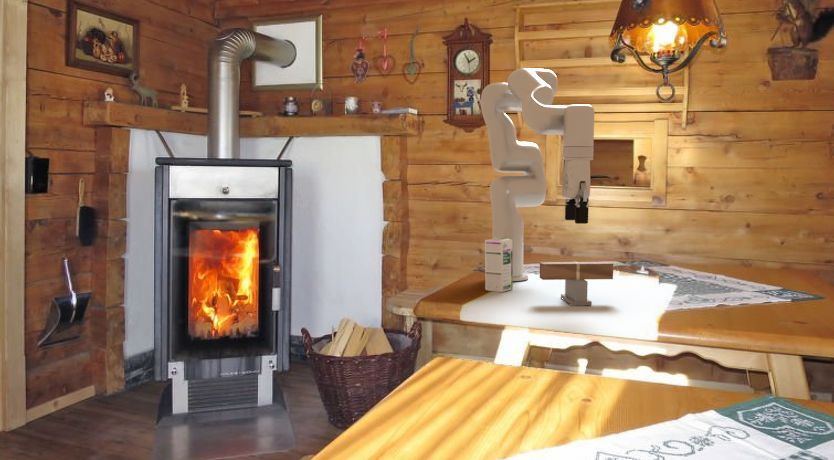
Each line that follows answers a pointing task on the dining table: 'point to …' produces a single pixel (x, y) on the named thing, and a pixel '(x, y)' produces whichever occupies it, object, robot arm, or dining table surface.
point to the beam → (576, 270)
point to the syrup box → (498, 265)
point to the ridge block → (576, 292)
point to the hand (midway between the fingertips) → (576, 221)
